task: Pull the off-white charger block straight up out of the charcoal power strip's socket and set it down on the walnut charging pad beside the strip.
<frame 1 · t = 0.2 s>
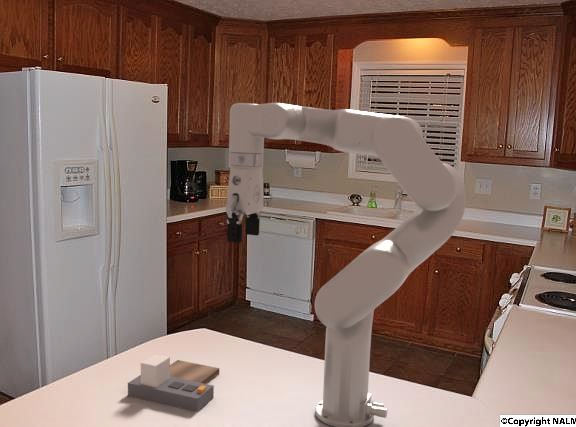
hand: (243, 238, 127), 36 cm above the worktop, tool pointing down, fingers open, 9 cm apart
power strip: (170, 396, 129), on the worktop
charging pad: (187, 377, 140), on the worktop
charger: (155, 387, 131), point 1 cm above the worktop, touching power strip
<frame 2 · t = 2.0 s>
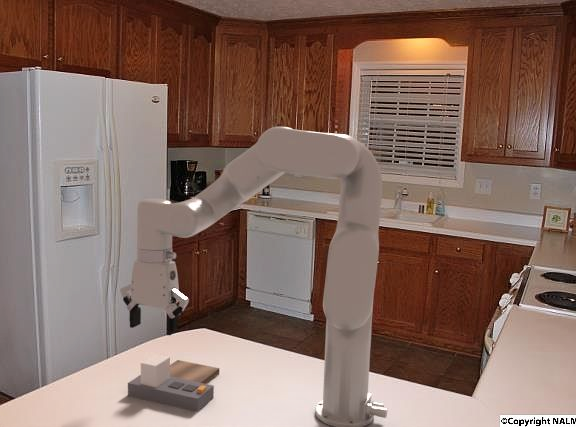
hand: (153, 329, 129), 15 cm above the worktop, tool pointing down, fingers open, 9 cm apart
nothing on the worktop moved.
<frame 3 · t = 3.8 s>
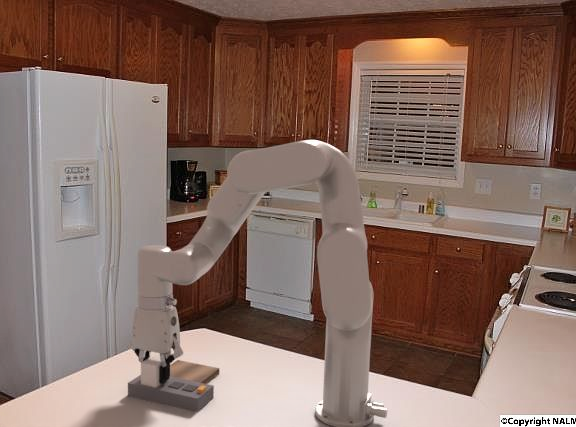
hand: (155, 378, 130), 4 cm above the worktop, tool pointing down, fingers closed on charger, 4 cm apart
charger: (155, 387, 131), point 2 cm above the worktop, touching gripper
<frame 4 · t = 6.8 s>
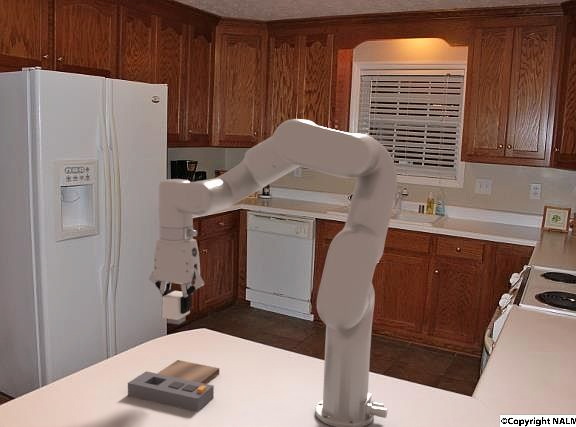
hand: (176, 310, 134), 18 cm above the worktop, tool pointing down, fingers closed on charger, 4 cm apart
charger: (176, 321, 134), point 15 cm above the worktop, touching gripper
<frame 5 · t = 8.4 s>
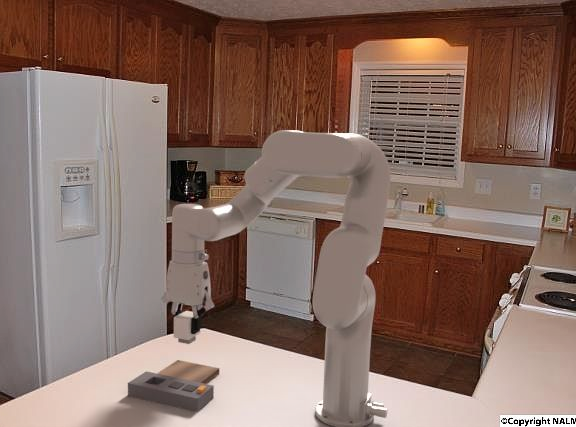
hand: (187, 330, 138), 12 cm above the worktop, tool pointing down, fingers closed on charger, 4 cm apart
charger: (187, 341, 139), point 9 cm above the worktop, touching gripper
when the fingers open (5 cm above the worktop, at t = 9.9 s): charger stays where it is, resting on charging pad.
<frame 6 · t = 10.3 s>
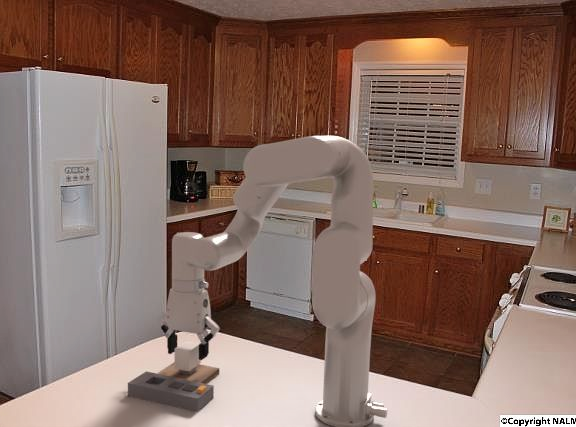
hand: (187, 354, 139), 6 cm above the worktop, tool pointing down, fingers open, 8 cm apart
charger: (187, 371, 140), point 1 cm above the worktop, touching charging pad
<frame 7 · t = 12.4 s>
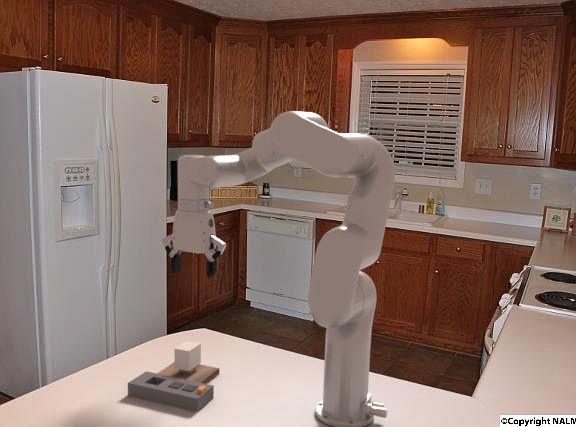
hand: (193, 274, 143), 24 cm above the worktop, tool pointing down, fingers open, 9 cm apart
nothing on the worktop moved.
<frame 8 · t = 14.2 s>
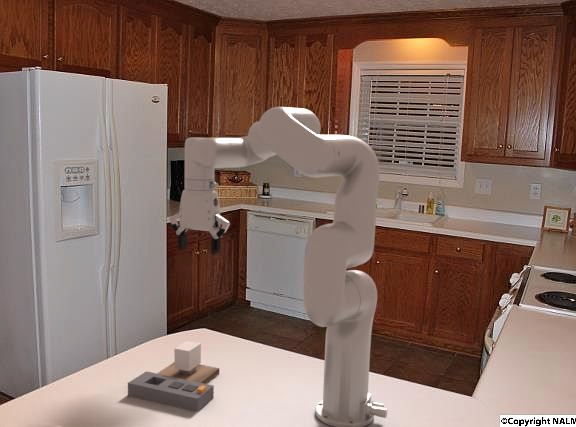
hand: (198, 251, 150), 28 cm above the worktop, tool pointing down, fingers open, 9 cm apart
nothing on the worktop moved.
at the end: charger inside the target area on the charging pad (0.0 cm from its centre), point 1.5 cm above the charging pad's base; charger touching charging pad; the gripper is holding nothing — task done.
